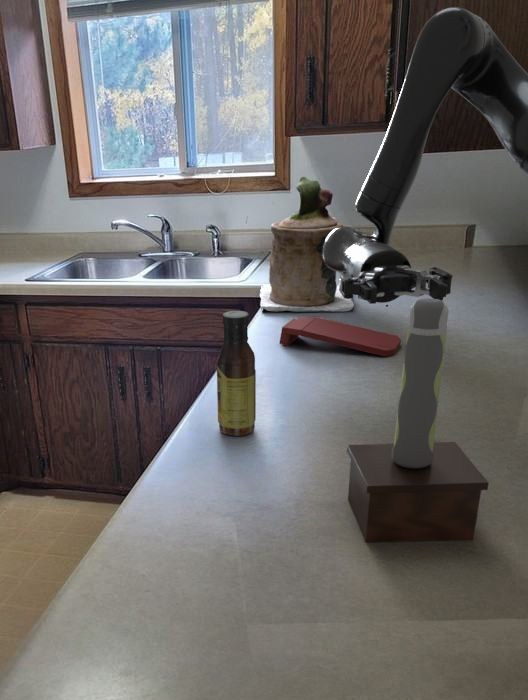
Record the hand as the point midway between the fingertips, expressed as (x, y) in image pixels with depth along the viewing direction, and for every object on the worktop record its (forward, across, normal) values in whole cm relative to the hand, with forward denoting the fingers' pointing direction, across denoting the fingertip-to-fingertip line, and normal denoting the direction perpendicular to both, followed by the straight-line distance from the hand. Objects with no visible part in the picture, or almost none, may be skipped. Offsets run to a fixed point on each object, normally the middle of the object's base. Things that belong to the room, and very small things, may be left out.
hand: (407, 294), depth 95 cm
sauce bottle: (-18, -21, +26) cm, 38 cm away
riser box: (+12, -1, +26) cm, 29 cm away
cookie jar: (-109, +4, +26) cm, 112 cm away
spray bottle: (+12, -1, +18) cm, 22 cm away
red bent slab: (-66, +5, +26) cm, 71 cm away
